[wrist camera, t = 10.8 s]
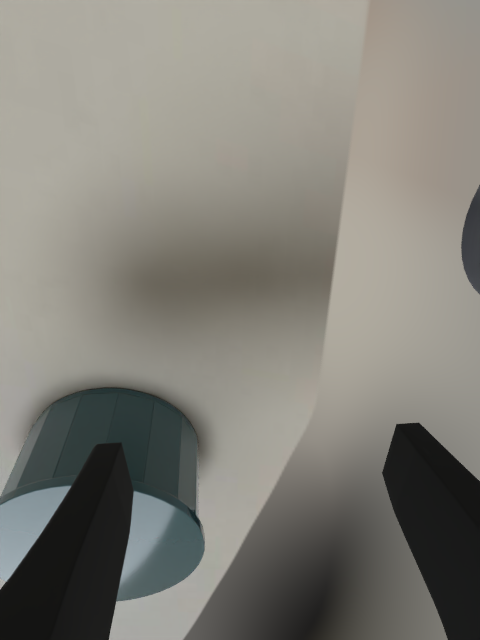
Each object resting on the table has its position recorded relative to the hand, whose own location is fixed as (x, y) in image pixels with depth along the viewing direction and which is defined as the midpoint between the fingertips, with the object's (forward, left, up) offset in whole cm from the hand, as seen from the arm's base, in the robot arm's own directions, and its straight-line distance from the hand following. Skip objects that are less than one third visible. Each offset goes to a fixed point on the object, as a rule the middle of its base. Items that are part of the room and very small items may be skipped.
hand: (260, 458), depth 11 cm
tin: (+8, +12, -10) cm, 17 cm away
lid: (+8, +12, -4) cm, 14 cm away
